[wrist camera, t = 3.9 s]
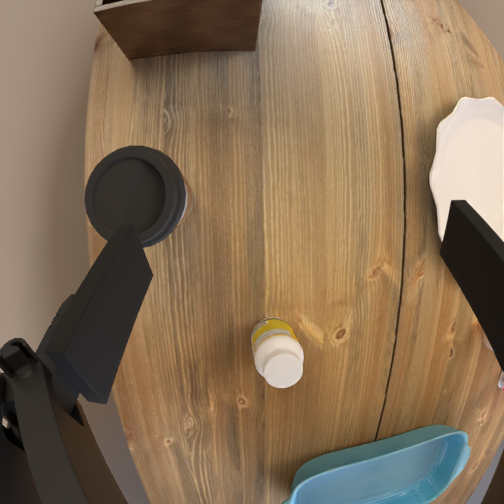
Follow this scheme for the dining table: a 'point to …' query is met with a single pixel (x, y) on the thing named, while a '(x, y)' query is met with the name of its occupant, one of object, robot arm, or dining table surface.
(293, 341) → the supplement bottle
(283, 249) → the dining table surface
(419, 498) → the casserole dish
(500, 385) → the pill bottle
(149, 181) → the coffee cup
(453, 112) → the plate
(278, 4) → the dining table surface
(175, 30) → the chest
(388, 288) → the dining table surface
